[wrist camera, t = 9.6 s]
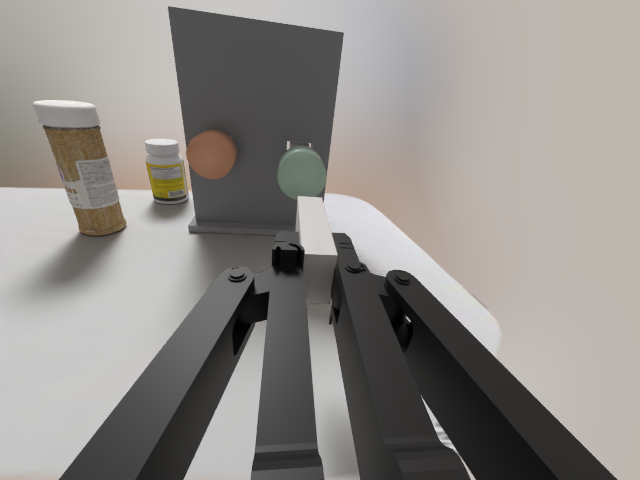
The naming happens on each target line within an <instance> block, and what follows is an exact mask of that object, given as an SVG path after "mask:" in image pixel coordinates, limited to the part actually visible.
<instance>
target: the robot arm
mask: <svg viewBox="0 0 640 480" xmlns="http://www.w3.org/2000/svg"><path fill="white" fill-rule="evenodd" d="M331 298H332V308H331V314H330V320H329V324H332V320H333V326H334V332H335V337H336V343H337V349H338V354H339V360H340V366H341V372H342V377H343V383H344V389H345V394H346V400H347V406H348V412H349V417H350V423H351V429H352V434H353V440H354V446H355V451H356V457H357V463H358V469H359V474H360V480H471V479H470V477H469V475H468V472H467V470H466V468H465V466H464V464H463V463H462V461H461V459H460V457H459V456H458V455H457V454H456V452H455V451H454V450H453V449H451V448H449V447H446V446H444V445H443V444H442V443H441V442H440V440H439V438H438V436H437V434H436V431H435V429H434V426H433V424H432V422H431V419H430V417H429V414H428V412H427V410H426V407H425V405H424V402H423V400H422V398H423V399H424V401H425V402H426V404H427V405H428V407H429V408H430V410H431V411H432V413H433V414H434V416H435V417H436V419H437V421H438V422H439V424H440V425H441V427H442V428H443V430H444V431H445V433H446V434H447V436H448V437H449V439H450V440H451V442H452V443H453V445H454V447H455V448H456V450H457V451H458V453H459V454H460V456H461V457H462V459H463V460H464V462H465V463H466V465H467V466H468V468H469V470H470V471H471V473H472V474H473V476H474V477H475V479H476V480H617V479H616V478H615V477H614V476H613V475H612V474H611V473H610V472H609V471H608V470H607V469H606V468H605V467H604V466H603V465H602V464H601V463H600V462H599V461H598V460H597V459H596V458H595V457H594V456H593V455H592V454H591V453H590V452H589V451H588V450H587V449H586V448H585V447H584V446H583V445H582V444H581V443H580V442H579V441H578V440H577V439H576V438H575V437H574V436H573V435H572V434H571V433H570V432H569V431H568V430H567V429H566V428H565V427H564V426H563V425H562V424H561V423H560V422H559V421H558V420H557V419H556V418H555V417H554V416H553V415H552V414H551V413H550V412H549V411H548V410H547V409H546V408H545V407H544V406H543V405H542V404H541V403H540V402H539V401H538V400H537V399H536V398H535V397H534V396H533V395H532V394H531V393H530V392H529V391H528V390H527V389H526V388H525V387H524V386H523V385H522V384H521V383H520V382H519V381H518V380H517V379H516V378H515V377H514V376H513V375H512V374H511V373H510V372H509V371H508V370H507V369H506V368H505V367H504V366H503V365H502V364H501V363H500V362H499V361H498V360H497V359H496V358H495V357H494V356H493V355H492V354H491V353H490V352H489V351H488V350H487V349H486V348H485V347H484V346H483V345H482V344H481V343H480V342H479V341H478V340H477V339H476V338H475V337H474V336H473V335H472V334H471V333H470V332H469V331H468V330H467V329H466V328H465V327H464V326H463V325H462V324H461V323H460V322H459V321H458V320H457V319H456V318H455V317H454V316H453V315H452V314H451V313H450V312H449V311H448V310H447V309H446V308H445V307H444V306H443V305H442V304H441V303H440V302H439V301H438V300H437V299H436V298H435V297H434V296H433V295H432V294H431V293H430V292H429V291H428V290H427V289H426V288H425V287H424V286H423V285H422V284H421V283H420V282H419V281H418V280H417V279H416V278H415V277H414V276H413V275H411V274H410V273H408V272H406V271H402V270H392V271H389V272H388V273H387V275H386V277H383V276H379V275H375V274H372V273H370V272H369V270H368V268H367V266H366V265H365V264H363V263H362V262H359V259H358V257H357V254H356V252H355V249H354V246H353V245H352V241H351V239H350V237H348V236H347V235H346V234H345V233H331V229H330V226H329V222H328V218H327V215H326V211H325V207H324V204H323V200H322V198H320V197H305V196H298V201H297V215H296V230H295V232H291V231H279V232H278V234H277V235H276V236H275V246H274V247H273V249H272V266H271V267H270V268H269V269H267V270H265V271H263V272H259V273H254V272H253V271H252V270H251V269H250V268H247V267H244V266H234V267H230V268H227V269H225V270H224V271H223V272H221V273H220V275H219V276H218V277H217V279H216V280H215V281H214V282H213V284H212V285H211V286H210V287H209V289H208V290H207V291H206V293H205V294H204V295H203V296H202V298H201V299H200V300H199V302H198V303H197V304H196V305H195V307H194V308H193V309H192V310H191V312H190V313H189V314H188V316H187V317H186V318H185V319H184V321H183V322H182V323H181V324H180V326H179V327H178V328H177V330H176V331H175V332H174V333H173V335H172V336H171V337H170V339H169V340H168V341H167V342H166V344H165V345H164V346H163V347H162V349H161V350H160V351H159V353H158V354H157V355H156V356H155V358H154V359H153V360H152V361H151V363H150V364H149V365H148V367H147V368H146V369H145V370H144V372H143V373H142V374H141V376H140V377H139V378H138V379H137V381H136V382H135V383H134V384H133V386H132V387H131V388H130V390H129V391H128V392H127V393H126V395H125V396H124V397H123V398H122V400H121V401H120V402H119V404H118V405H117V406H116V407H115V409H114V410H113V411H112V413H111V414H110V415H109V416H108V418H107V419H106V420H105V421H104V423H103V424H102V425H101V427H100V428H99V429H98V430H97V432H96V433H95V434H94V435H93V437H92V438H91V439H90V441H89V442H88V443H87V444H86V446H85V447H84V448H83V450H82V451H81V452H80V453H79V455H78V456H77V457H76V458H75V460H74V461H73V462H72V464H71V465H70V466H69V467H68V469H67V470H66V471H65V472H64V474H63V475H62V476H61V478H60V479H59V480H183V479H184V477H185V475H186V473H187V471H188V468H189V466H190V464H191V462H192V460H193V458H194V456H195V453H196V451H197V449H198V447H199V445H200V443H201V440H202V438H203V436H204V434H205V432H206V430H207V427H208V425H209V423H210V421H211V419H212V417H213V415H214V412H215V410H216V408H217V406H218V404H219V402H220V399H221V397H222V395H223V393H224V391H225V389H226V387H227V384H228V382H229V380H230V378H231V376H232V374H233V371H234V369H235V367H236V365H237V363H238V361H239V359H240V356H241V354H242V352H243V350H244V348H245V346H246V343H247V341H248V339H249V337H250V335H251V333H252V331H253V328H254V326H255V323H256V322H259V321H263V320H267V326H266V337H265V348H264V359H263V370H262V380H261V391H260V402H259V413H258V424H257V435H256V446H255V455H254V460H253V465H252V472H251V480H324V474H323V465H322V460H321V457H320V455H319V453H318V446H317V435H316V422H315V409H314V397H313V384H312V371H311V358H310V345H309V333H308V320H307V307H306V304H330V299H331ZM406 316H407V317H408V318H409V319H410V320H411V322H409V321H408V320H407V319H406ZM420 394H421V395H420ZM421 396H422V398H421Z"/></svg>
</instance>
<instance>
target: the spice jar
mask: <svg viewBox="0 0 640 480" xmlns="http://www.w3.org/2000/svg"><path fill="white" fill-rule="evenodd" d="M33 107H34V110H35V112H36V115H37V118H38V121H39V123H41V124H42V125H43V129H44V130H45V131H46V135H47V137H48V139H49V143H50V145H51V148H52V152H53V154H54V156H55V159H56V164H57V167H58V170H59V172H60V175H61V178H62V181H63V184H64V186H65V189H66V192H67V195H68V198H69V201H70V203H71V205H72V206H73V210H74V212H75V215H76V218H77V221H78V224H79V230H80V231H81V232H82V233H84V234H87V235H92V236H93V235H105V234H109V233H113V232H116V231H119V230H121V229H122V228H124V227H125V225H126V220H125V219H124V217H123V214H122V210H121V206H120V203H119V196H118V192H117V188H116V184H115V180H114V177H113V173H112V169H111V166H110V162H109V158H108V155H107V153H106V150H105V146H104V142H103V139H102V135H101V132H100V126H99V124H100V120H99V116H98V113H97V110H96V107H95V106H94V105H92V104H90V103H85V102H78V101H66V100H44V101H36V102H34V103H33Z"/></svg>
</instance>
